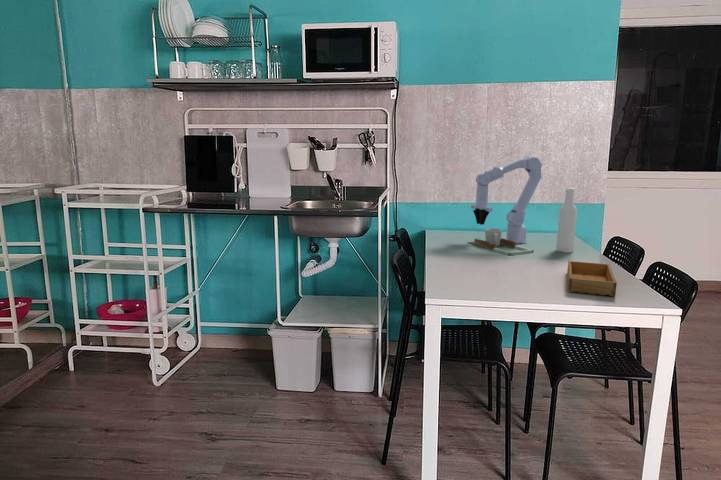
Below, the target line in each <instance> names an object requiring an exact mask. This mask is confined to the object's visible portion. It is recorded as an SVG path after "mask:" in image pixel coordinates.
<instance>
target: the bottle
mask: <svg viewBox="0 0 721 480" xmlns="http://www.w3.org/2000/svg"><path fill="white" fill-rule="evenodd" d="M574 197H575V188H573V187H567V188H566V189H565V198H564V203H563V204H561V206H560V208H559V210H558V211H559V212H558V222H557V232H556V233H557V234H556V245H555V250H556V252H560V253H564V254H565V253H573V252H574V250H575V249H574V248H575V237H576V228H577V227H576V225H577V218H578V217H577V216H578V209H577V206H576V205H575V204H574V199H575V198H574Z"/></svg>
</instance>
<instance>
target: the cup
mask: <svg viewBox="0 0 721 480" xmlns="http://www.w3.org/2000/svg"><path fill="white" fill-rule="evenodd" d="M502 233H503V231H502V229H500V228H491V227H490V228H485V241H487V242H491V243H494V244H496V247H498V246H500V245H499V244H500V239H501V238H502Z"/></svg>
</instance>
